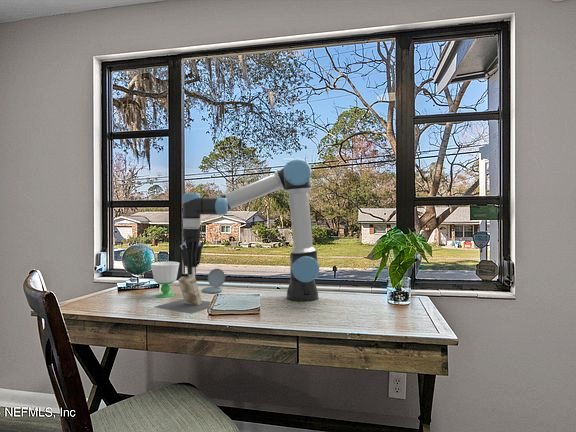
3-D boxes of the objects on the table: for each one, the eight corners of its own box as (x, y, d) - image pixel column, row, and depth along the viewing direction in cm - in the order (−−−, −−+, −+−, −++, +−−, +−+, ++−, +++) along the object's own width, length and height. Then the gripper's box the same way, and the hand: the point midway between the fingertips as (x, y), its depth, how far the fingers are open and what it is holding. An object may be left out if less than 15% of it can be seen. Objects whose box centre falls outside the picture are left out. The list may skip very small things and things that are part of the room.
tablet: (202, 302, 191) (195, 278, 187) (198, 305, 189) (191, 281, 185) (188, 300, 195) (182, 276, 192) (184, 303, 193) (178, 279, 189)
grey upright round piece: (226, 268, 227) (215, 273, 213) (226, 289, 228) (215, 295, 213) (208, 268, 230) (196, 272, 215) (208, 288, 230) (196, 294, 215)
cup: (152, 299, 204) (151, 266, 203) (149, 293, 216) (149, 262, 216) (181, 297, 209) (181, 264, 208) (177, 291, 221) (177, 260, 221)
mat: (223, 305, 193) (223, 303, 193) (191, 315, 175) (191, 313, 175) (186, 299, 204) (186, 298, 204) (153, 308, 187) (153, 306, 187)
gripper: (195, 227, 198) (195, 278, 199) (174, 228, 187) (174, 283, 188) (208, 227, 194) (208, 280, 195) (187, 229, 183) (187, 284, 184)
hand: (191, 281), depth 191 cm, fingers closed
